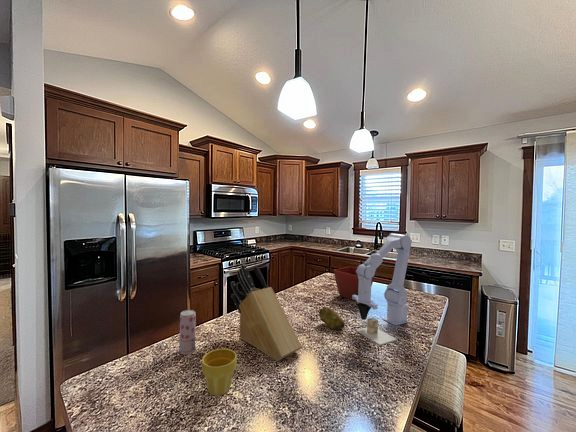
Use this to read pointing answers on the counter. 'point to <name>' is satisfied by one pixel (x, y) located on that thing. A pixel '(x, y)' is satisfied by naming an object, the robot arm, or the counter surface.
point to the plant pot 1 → (219, 370)
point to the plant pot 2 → (347, 281)
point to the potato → (331, 318)
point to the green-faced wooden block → (372, 325)
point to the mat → (377, 336)
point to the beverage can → (187, 331)
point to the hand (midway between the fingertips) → (363, 318)
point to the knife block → (263, 317)
